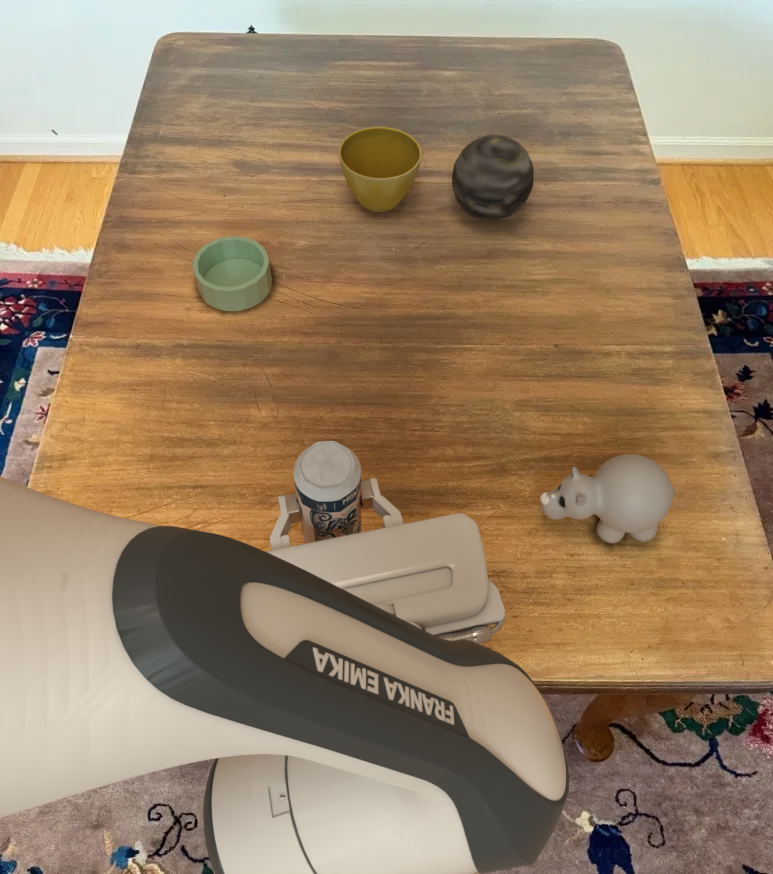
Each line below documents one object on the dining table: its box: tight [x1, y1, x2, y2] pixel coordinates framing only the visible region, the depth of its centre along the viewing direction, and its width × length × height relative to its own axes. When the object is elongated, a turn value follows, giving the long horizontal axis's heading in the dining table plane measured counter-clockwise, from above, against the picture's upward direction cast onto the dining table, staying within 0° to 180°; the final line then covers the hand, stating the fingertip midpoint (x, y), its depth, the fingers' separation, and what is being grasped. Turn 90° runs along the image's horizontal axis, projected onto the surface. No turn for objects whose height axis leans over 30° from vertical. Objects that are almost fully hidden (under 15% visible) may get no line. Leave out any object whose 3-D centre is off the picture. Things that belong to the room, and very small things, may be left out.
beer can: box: [292, 440, 363, 544], centre depth 57 cm, size 5×5×12 cm
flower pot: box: [338, 126, 423, 213], centre depth 93 cm, size 10×10×7 cm
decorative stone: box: [451, 133, 535, 222], centre depth 91 cm, size 10×10×10 cm
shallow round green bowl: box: [191, 235, 273, 312], centre depth 86 cm, size 9×9×4 cm
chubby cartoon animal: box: [539, 453, 676, 544], centre depth 69 cm, size 7×12×8 cm, turn 91°
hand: (326, 490), depth 57 cm, fingers closed on beer can, 5 cm apart
